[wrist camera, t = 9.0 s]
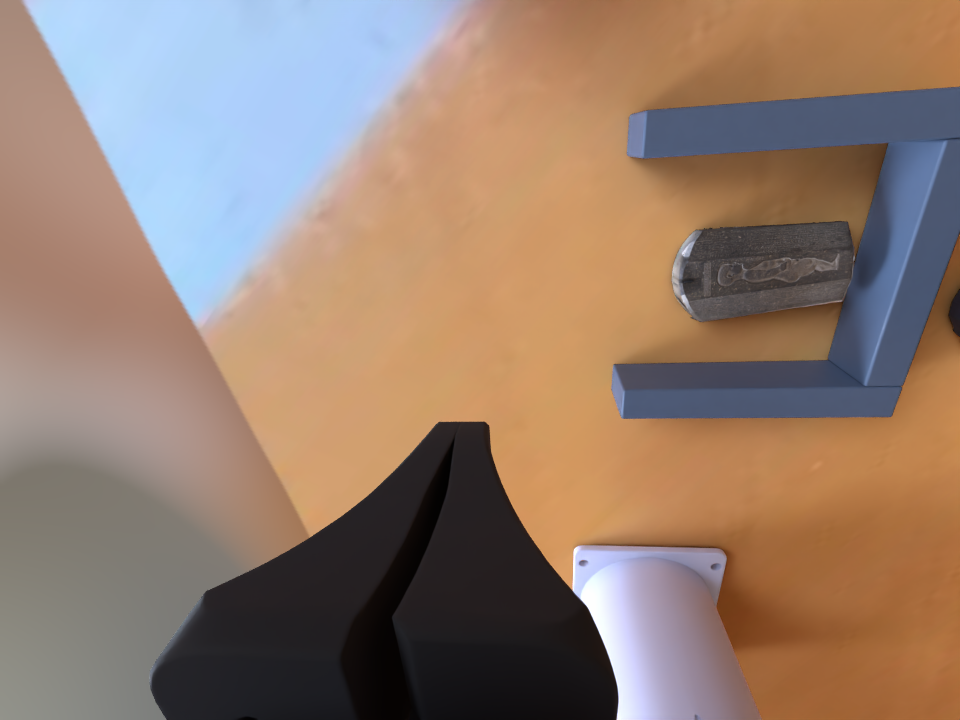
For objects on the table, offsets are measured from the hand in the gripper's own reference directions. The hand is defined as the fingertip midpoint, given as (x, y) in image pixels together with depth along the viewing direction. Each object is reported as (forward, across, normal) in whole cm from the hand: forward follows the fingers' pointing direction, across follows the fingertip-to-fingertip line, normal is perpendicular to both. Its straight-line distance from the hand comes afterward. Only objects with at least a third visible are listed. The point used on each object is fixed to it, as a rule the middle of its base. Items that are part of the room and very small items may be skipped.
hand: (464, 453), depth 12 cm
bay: (+9, -10, -2) cm, 14 cm away
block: (+10, -10, -2) cm, 14 cm away
